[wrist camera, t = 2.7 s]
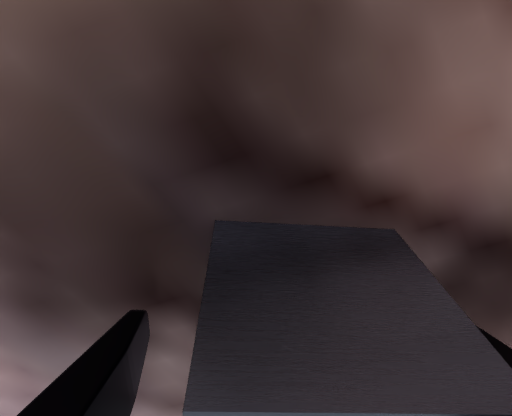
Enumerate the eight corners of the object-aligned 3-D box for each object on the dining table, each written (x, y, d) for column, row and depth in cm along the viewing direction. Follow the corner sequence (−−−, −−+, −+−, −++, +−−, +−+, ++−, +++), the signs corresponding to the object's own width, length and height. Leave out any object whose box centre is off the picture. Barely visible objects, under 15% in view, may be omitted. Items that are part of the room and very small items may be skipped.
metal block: (393, 227, 9) (551, 414, 4) (353, 347, 11) (429, 551, 6) (215, 218, 8) (182, 411, 4) (213, 344, 11) (190, 557, 6)
